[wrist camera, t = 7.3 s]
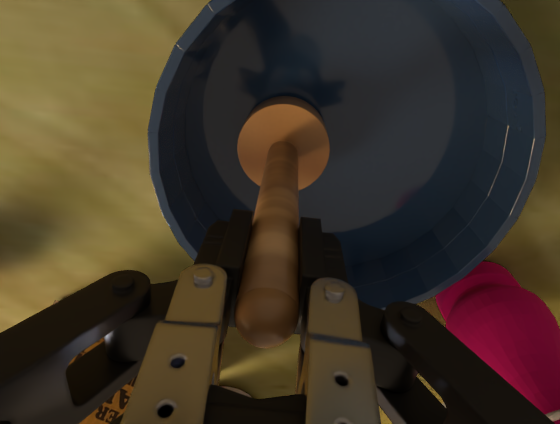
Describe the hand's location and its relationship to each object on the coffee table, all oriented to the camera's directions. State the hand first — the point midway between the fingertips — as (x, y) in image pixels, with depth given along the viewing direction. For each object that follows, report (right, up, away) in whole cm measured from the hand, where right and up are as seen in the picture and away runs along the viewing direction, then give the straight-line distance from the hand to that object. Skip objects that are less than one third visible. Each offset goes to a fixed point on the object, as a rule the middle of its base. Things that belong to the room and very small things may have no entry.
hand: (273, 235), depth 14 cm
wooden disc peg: (+1, +6, +11) cm, 12 cm away
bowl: (+4, +6, +12) cm, 14 cm away
